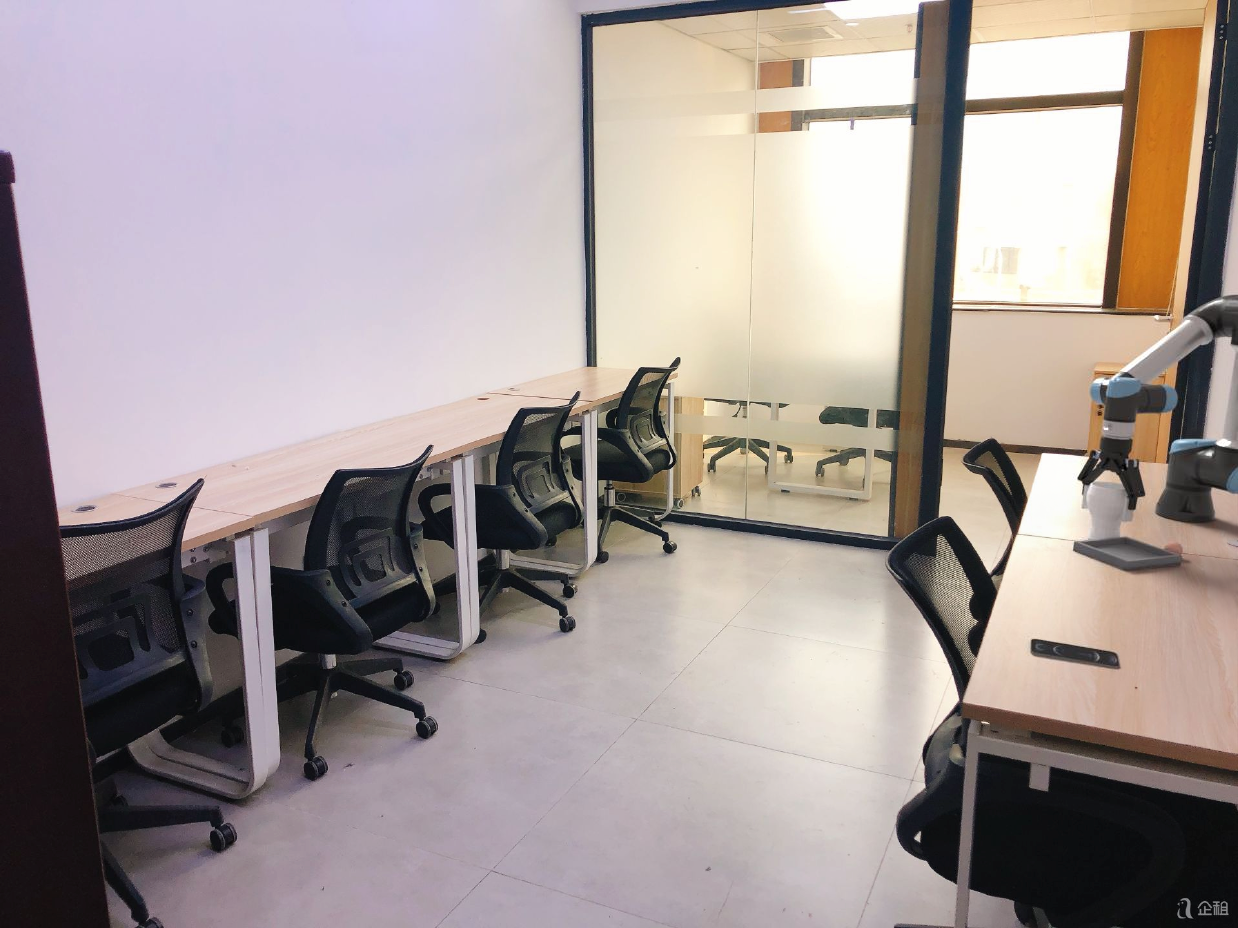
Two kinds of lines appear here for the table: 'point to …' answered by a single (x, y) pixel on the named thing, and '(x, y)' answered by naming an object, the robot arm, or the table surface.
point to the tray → (1127, 553)
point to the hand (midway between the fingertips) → (1106, 514)
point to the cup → (1105, 509)
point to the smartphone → (1074, 653)
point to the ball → (1174, 547)
